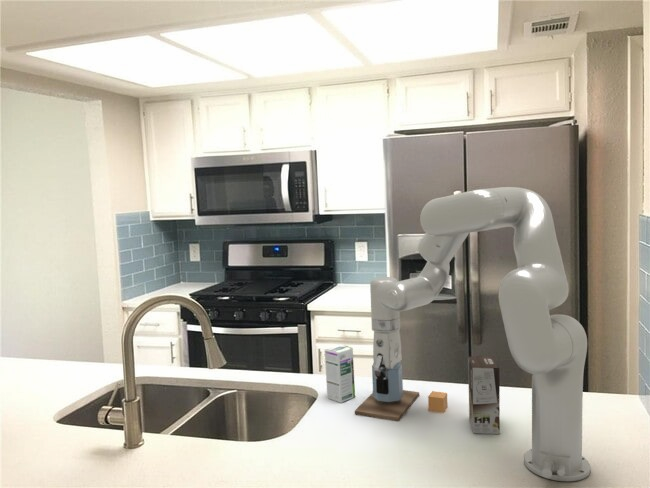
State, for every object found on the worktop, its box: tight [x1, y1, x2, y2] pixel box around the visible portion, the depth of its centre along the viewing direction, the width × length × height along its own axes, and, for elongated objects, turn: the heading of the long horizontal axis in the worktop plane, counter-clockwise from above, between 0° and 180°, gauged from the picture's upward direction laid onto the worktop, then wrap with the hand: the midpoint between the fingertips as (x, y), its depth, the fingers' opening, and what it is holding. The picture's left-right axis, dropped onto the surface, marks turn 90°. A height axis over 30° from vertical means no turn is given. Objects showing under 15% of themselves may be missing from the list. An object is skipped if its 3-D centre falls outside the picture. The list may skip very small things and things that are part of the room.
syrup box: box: [324, 344, 356, 404], centre depth 153 cm, size 6×6×14 cm
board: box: [354, 389, 420, 422], centre depth 148 cm, size 18×12×1 cm, turn 154°
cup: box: [371, 361, 404, 402], centre depth 147 cm, size 7×7×9 cm
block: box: [427, 390, 448, 414], centre depth 144 cm, size 4×4×4 cm
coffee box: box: [467, 355, 501, 435], centre depth 132 cm, size 9×6×16 cm
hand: (387, 387), depth 147 cm, fingers closed on cup, 7 cm apart
